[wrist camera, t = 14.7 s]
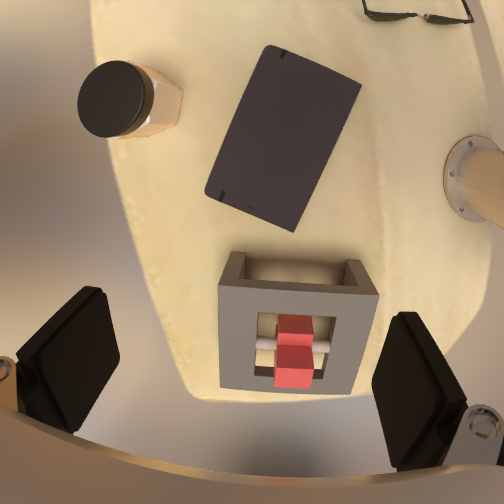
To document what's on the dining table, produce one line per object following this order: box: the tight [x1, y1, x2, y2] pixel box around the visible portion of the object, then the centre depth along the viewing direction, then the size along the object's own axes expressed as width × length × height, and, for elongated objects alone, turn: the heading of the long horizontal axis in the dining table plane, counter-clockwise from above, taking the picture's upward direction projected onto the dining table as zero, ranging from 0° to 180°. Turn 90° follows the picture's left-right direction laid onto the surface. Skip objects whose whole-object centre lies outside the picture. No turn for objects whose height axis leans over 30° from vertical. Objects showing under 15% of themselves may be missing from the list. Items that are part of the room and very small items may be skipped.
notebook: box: [205, 45, 362, 233], centre depth 37 cm, size 13×2×21 cm
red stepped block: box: [274, 313, 314, 389], centre depth 38 cm, size 4×6×13 cm, turn 178°
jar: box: [77, 61, 183, 140], centre depth 31 cm, size 9×8×12 cm
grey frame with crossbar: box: [218, 252, 379, 395], centre depth 41 cm, size 18×16×10 cm
